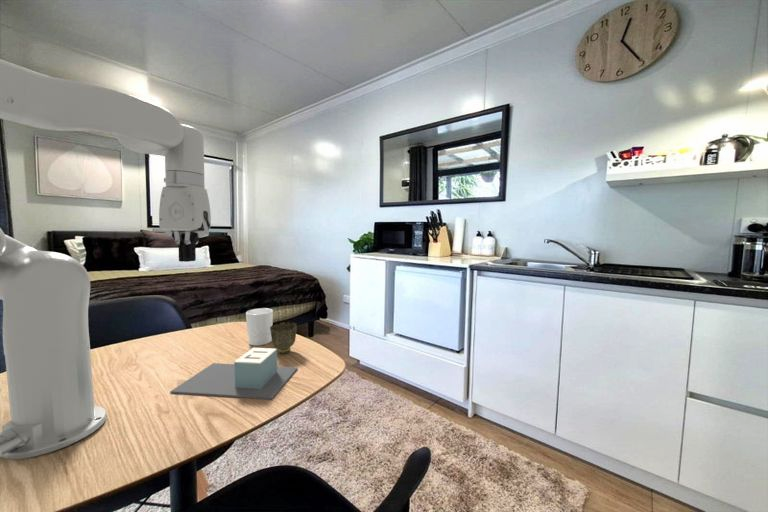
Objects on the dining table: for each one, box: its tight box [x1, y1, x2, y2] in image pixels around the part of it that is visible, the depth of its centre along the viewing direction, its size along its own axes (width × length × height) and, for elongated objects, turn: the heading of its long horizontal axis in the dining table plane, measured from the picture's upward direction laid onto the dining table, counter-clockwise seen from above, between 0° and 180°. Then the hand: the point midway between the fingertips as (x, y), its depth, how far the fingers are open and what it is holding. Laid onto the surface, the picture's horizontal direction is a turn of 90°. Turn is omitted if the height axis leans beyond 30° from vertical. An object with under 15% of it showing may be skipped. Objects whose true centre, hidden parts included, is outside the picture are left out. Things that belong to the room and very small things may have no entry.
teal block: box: [233, 347, 278, 389], centre depth 70 cm, size 8×6×6 cm
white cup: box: [245, 307, 274, 347], centre depth 95 cm, size 8×8×10 cm
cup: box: [270, 321, 298, 355], centre depth 87 cm, size 8×7×8 cm
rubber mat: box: [170, 362, 298, 400], centre depth 70 cm, size 14×23×1 cm, turn 85°
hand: (187, 261), depth 70 cm, fingers closed
